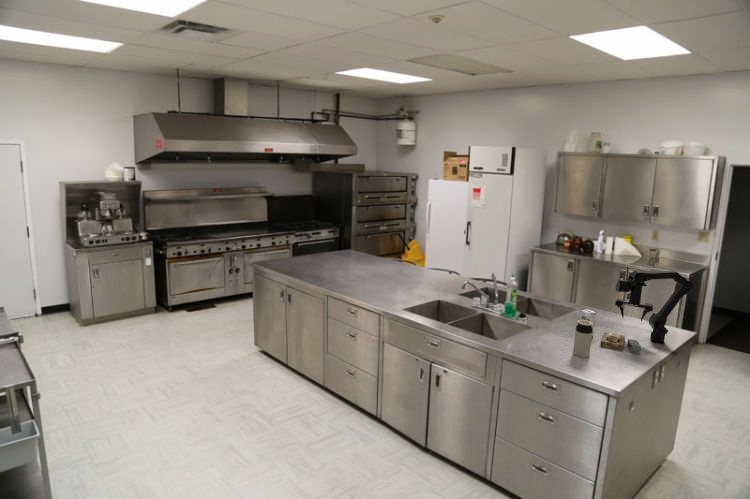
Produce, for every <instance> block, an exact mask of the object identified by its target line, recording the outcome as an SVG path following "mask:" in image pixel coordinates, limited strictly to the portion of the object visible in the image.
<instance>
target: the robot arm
mask: <svg viewBox="0 0 750 499" xmlns="http://www.w3.org/2000/svg"><path fill="white" fill-rule="evenodd" d="M667 279H668V280H669V279H671V280H672V279H673V281H674V282H675V283H676V284H675V286H674V290H673V293H672V294H671V295H670V296H669V298H668V299H667V301H666V302H665V303H664V304H663V306H662V307H661V309H660V310H659V312H657V313H655V312H653V310H654V305H653V303H645V304H643V303H642V302H641V300H642V293H643V287H648V284H646V282H648V281H652V280H667ZM694 287H695V285H694V282H693V281H691V280H689V279H686V278H685V277H683V275H681V274H680V273H679V272H678V271H676V270H674V269H673V270H662V271H660V270H659V271H646V270H640V269H638V270H637V269H635V270H633V271H632V272H631V273H630V275H629V276H628V277H627V278H626V280H624V279H623V280H622V279H618V280H617V282H616V284H615V291H616V292H617V293H627V295H626V300H628V301H625V300H624V299H622V298H621V299H620V298H616V300H615V304H614V306H617V308H619V311H620V313H621V317H622V319H624V317H625V306H628V307H635V308H640V309H641V308H642V309H643V312H642V315H641V318H640V322H643V320H644V318H645V316H647V313H651V312H652V314H651V316H650V317H649V318H648V323H649V324H648V325H649V326H651V329H652V331H650V338H649V340H650V342H651V343H655V344H661V345H665V338H666V335H667V334H668V333H669V330H668V329H667V327H666V324H667V319H668V317H669V316H670V314H671V312H673V310H674V309H675V308H676V306H677V304H678V303H680V301H681V299H683V297H684V296H686V295H688V294H689V293H690V292H691V291H692V290H693V289H694Z"/></svg>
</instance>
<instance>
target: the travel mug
mask: <svg viewBox="0 0 750 499" xmlns="http://www.w3.org/2000/svg"><path fill="white" fill-rule="evenodd" d="M576 322H577V325H576V326H575V332H574V333H575V334H574V340H573V342H574V344H573V348H572V349H573V350H572V353H573V355H574V356H577V357H579V358H583V359H584V358H588V357H590V353H591V345H592V340H593V336H592V332H593V329H592V325H593V323H592V322H591V321H587V320H581V319H578V320H577V321H576Z"/></svg>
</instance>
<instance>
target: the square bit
mask: <svg viewBox="0 0 750 499" xmlns="http://www.w3.org/2000/svg"><path fill="white" fill-rule="evenodd" d="M608 333H609V337H608V341H612V342H618V335H620V334H619V333H613V332H608Z"/></svg>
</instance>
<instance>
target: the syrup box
mask: <svg viewBox="0 0 750 499" xmlns="http://www.w3.org/2000/svg"><path fill="white" fill-rule="evenodd" d="M596 317H597V312H595V311H593V310H590V309H582V310H581V316H580V320H587V321H591V322H592V323H593V325H592V329H593V332H592V337H594V333H595V325H596Z"/></svg>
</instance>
